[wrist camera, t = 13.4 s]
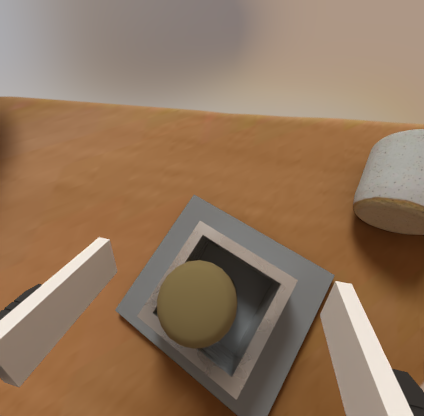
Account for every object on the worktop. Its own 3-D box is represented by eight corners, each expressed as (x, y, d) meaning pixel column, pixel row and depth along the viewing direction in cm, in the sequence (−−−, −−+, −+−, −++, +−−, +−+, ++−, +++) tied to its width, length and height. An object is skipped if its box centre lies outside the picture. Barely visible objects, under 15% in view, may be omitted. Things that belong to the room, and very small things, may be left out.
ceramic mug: (336, 216, 24) (379, 192, 17) (357, 159, 26) (404, 115, 19) (438, 257, 22) (539, 250, 15) (454, 191, 24) (551, 156, 16)
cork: (188, 335, 21) (150, 380, 11) (176, 275, 23) (135, 265, 13) (244, 318, 21) (261, 346, 11) (227, 260, 23) (228, 238, 13)
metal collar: (158, 307, 23) (136, 316, 18) (207, 230, 25) (199, 220, 20) (237, 370, 20) (236, 399, 15) (285, 278, 22) (298, 280, 17)
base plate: (120, 308, 24) (115, 310, 23) (195, 197, 27) (194, 194, 26) (257, 425, 19) (258, 433, 18) (330, 275, 22) (334, 275, 22)
